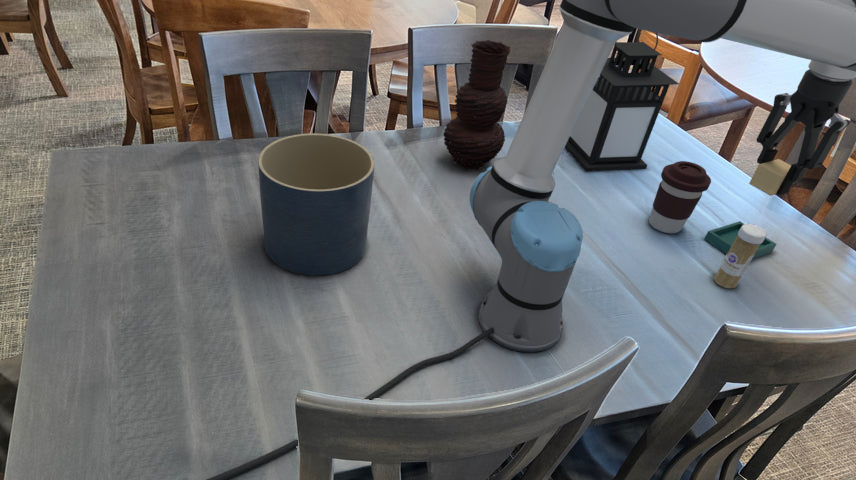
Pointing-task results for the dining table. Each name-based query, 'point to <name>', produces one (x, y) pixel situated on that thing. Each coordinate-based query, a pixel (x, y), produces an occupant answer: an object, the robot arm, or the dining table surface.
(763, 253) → the green tray
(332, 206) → the planter
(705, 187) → the coffee cup
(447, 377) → the dining table surface
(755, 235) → the sprinkles bottle
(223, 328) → the dining table surface
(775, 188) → the tan block
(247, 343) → the dining table surface
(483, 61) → the vase
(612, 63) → the lantern
